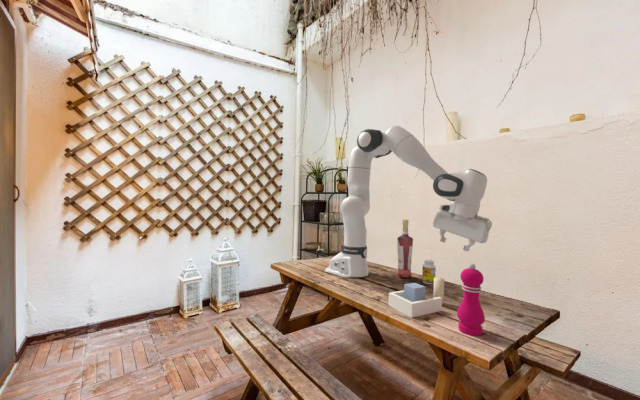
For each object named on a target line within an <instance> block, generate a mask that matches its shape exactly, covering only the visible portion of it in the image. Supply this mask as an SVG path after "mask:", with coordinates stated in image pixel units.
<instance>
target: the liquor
mask: <svg viewBox="0 0 640 400" xmlns="http://www.w3.org/2000/svg"><path fill="white" fill-rule="evenodd" d="M401 233H402V234H401V235H400V236H398V237H397V239H396V240H397V243H396V244H397V272H396V274H397V276H398V277H399V278H401V279H409V278H410V277H412V273H411V271H412V260H413V259H412V257H413V247H414V246H413V245H414V243H413V242H414V238H413V237H411V235H409V219H402V232H401Z"/></svg>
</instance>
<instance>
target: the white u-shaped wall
mask: <svg viewBox="0 0 640 400" xmlns="http://www.w3.org/2000/svg"><path fill="white" fill-rule="evenodd" d="M388 306H390V307H391V308H393V309H395V310H396V311H399V312H400V313H402V314H404V315H406V316H408V317H409V318H415V317H421V316H424V315H429V314H434V313H438V312H442V310H443V309H442V308H443V305H442V298H441V297H435V298H433V297H432V298H427V299H426V298H425V300H420V301H415V302H411V301H409V300H407V299H404V289H403V290H398V291H391V292H389V293H388Z"/></svg>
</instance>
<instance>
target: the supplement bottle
mask: <svg viewBox="0 0 640 400" xmlns="http://www.w3.org/2000/svg"><path fill="white" fill-rule="evenodd" d="M436 270H437V269H436V265H435V261H434V259H433V260H432V259H424V263H423V264H422V274H421V275H422V278H421V280H422V283H423V284H427V285H434V278H436V272H437V271H436Z"/></svg>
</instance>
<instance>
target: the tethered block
mask: <svg viewBox="0 0 640 400" xmlns="http://www.w3.org/2000/svg"><path fill="white" fill-rule="evenodd" d="M403 290H404V299H407V300H409V301H411V302H415V301H420V300H425V299H426V286H424V285H422V284H419V283H417V282H410V283H405V284H403ZM432 291H433V295H432V296H433V297H432V298H435V297H441V298H442V306H443V305H444V304H445V302H444V301H445V279H444V278H443V277H437V276H435V278H434V284H433V290H432Z"/></svg>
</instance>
